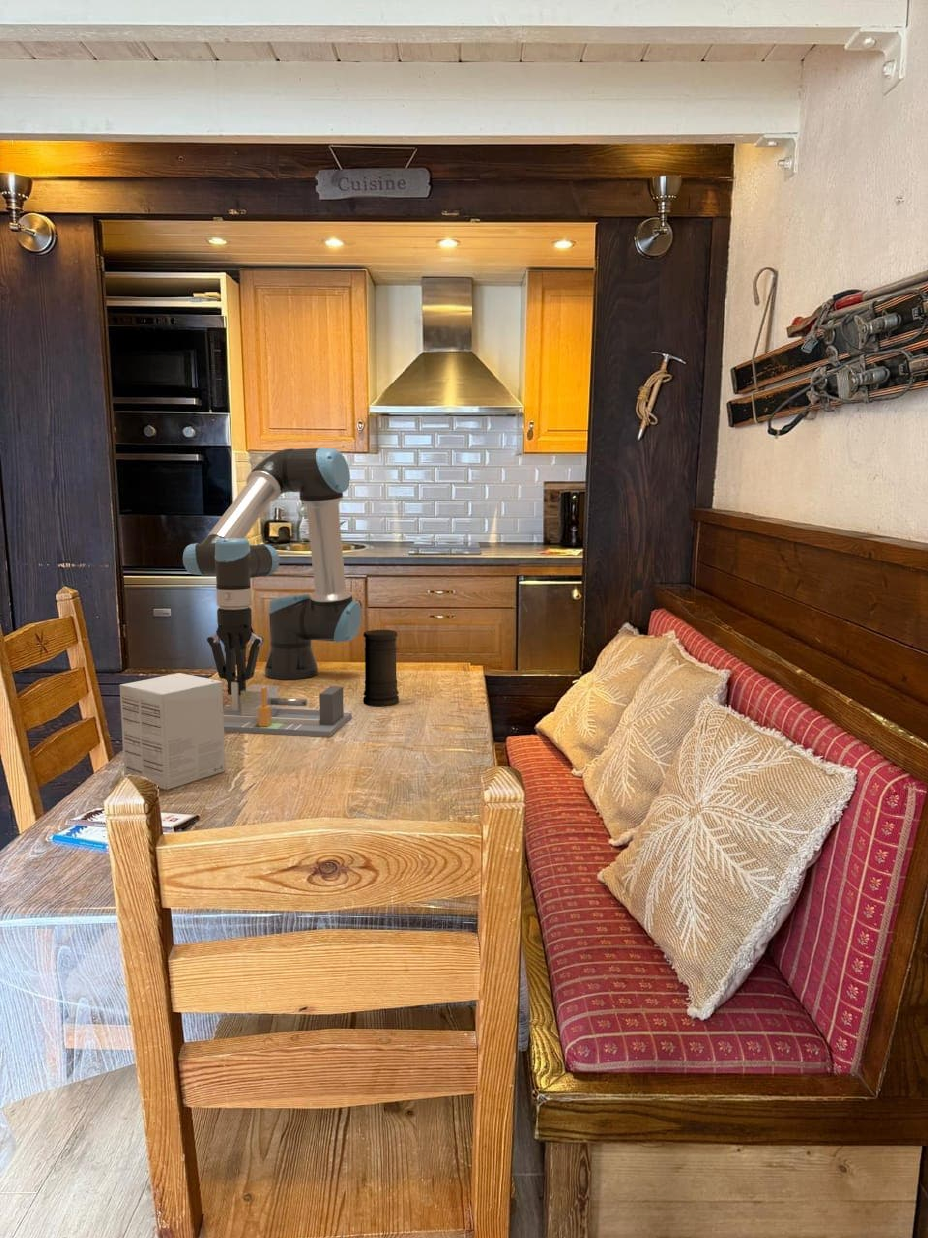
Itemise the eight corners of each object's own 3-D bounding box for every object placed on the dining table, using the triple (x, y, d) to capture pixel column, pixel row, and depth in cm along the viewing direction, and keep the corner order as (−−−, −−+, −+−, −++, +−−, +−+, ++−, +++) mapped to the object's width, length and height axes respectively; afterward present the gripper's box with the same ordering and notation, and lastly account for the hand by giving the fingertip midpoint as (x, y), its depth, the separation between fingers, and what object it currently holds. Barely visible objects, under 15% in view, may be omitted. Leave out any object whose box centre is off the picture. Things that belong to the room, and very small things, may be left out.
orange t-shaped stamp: (262, 723, 185) (261, 686, 184) (271, 723, 185) (270, 686, 184) (258, 725, 183) (257, 688, 182) (267, 726, 183) (266, 688, 181)
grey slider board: (222, 712, 200) (221, 678, 199) (351, 718, 195) (351, 683, 194) (191, 730, 185) (189, 694, 183) (330, 737, 180) (329, 700, 179)
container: (401, 698, 215) (401, 629, 212) (395, 707, 206) (395, 635, 203) (367, 697, 216) (366, 628, 213) (359, 706, 207) (358, 634, 204)
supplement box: (183, 758, 165) (179, 671, 162) (227, 771, 157) (223, 680, 155) (122, 776, 154) (117, 684, 151) (166, 791, 147) (161, 694, 144)
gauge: (253, 711, 195) (253, 684, 194) (311, 714, 193) (310, 686, 192) (233, 724, 184) (232, 695, 183) (293, 727, 182) (293, 698, 181)
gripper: (199, 608, 186) (203, 711, 189) (254, 610, 184) (257, 714, 187) (214, 604, 193) (218, 703, 197) (268, 605, 191) (270, 706, 195)
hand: (237, 708), depth 192 cm, fingers closed
